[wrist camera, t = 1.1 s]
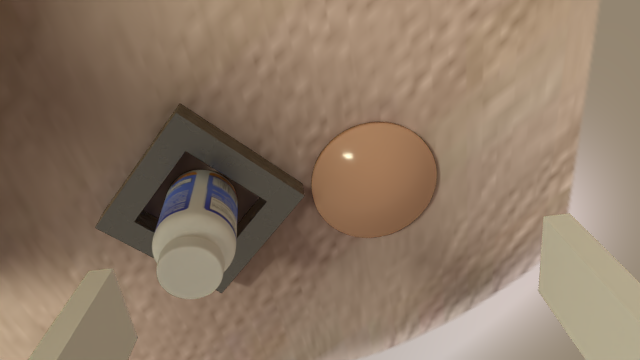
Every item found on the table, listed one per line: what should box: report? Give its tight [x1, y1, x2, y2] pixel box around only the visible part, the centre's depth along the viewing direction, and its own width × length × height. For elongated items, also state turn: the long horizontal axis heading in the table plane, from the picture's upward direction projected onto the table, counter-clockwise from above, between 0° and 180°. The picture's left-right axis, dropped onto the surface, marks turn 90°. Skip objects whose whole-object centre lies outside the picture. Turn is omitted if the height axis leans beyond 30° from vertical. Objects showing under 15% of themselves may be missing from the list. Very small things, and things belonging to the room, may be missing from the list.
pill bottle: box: [152, 170, 238, 299], centre depth 35 cm, size 5×5×10 cm
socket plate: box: [95, 104, 305, 293], centre depth 38 cm, size 11×11×2 cm
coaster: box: [311, 122, 437, 238], centre depth 40 cm, size 10×10×1 cm
